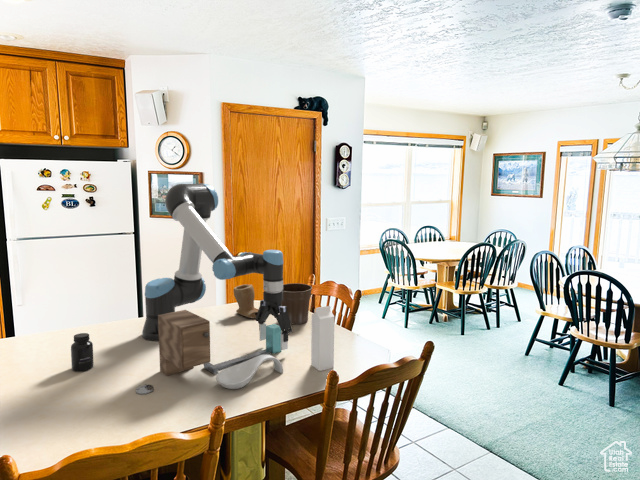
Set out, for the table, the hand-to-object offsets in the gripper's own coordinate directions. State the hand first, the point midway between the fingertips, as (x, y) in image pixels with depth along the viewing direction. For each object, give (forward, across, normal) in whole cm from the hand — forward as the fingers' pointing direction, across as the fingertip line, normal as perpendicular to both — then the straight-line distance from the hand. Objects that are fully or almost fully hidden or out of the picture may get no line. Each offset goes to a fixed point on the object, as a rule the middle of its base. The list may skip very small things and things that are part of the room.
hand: (273, 344), depth 178 cm
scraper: (+3, 0, -13) cm, 13 cm away
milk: (+3, +23, +4) cm, 24 cm away
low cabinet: (+3, -2, -36) cm, 36 cm away
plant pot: (+3, -24, +30) cm, 39 cm away
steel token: (+3, 0, -50) cm, 50 cm away
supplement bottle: (+3, -31, -60) cm, 67 cm away
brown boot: (+3, -45, +18) cm, 49 cm away
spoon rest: (+3, +15, -21) cm, 26 cm away
